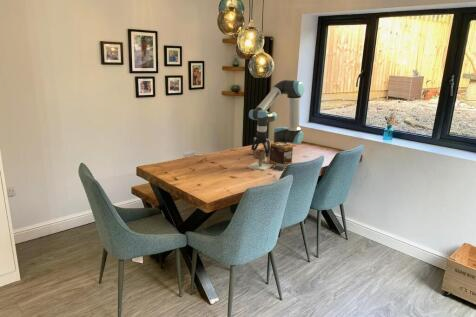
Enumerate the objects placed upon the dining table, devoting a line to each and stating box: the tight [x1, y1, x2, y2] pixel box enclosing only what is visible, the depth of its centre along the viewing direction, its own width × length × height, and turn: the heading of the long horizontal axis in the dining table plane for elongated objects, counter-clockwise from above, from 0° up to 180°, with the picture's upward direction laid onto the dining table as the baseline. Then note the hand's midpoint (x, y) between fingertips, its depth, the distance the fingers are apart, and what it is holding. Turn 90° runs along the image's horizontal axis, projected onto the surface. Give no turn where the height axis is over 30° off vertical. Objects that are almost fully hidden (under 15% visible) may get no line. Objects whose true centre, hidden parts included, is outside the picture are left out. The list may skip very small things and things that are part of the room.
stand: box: [273, 163, 287, 172], centre depth 279 cm, size 7×7×3 cm
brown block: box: [253, 148, 266, 161], centre depth 280 cm, size 8×8×6 cm
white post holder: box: [247, 159, 273, 172], centre depth 281 cm, size 14×14×9 cm
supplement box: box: [269, 142, 294, 166], centre depth 293 cm, size 10×15×16 cm
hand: (260, 159), depth 281 cm, fingers closed on brown block, 8 cm apart
